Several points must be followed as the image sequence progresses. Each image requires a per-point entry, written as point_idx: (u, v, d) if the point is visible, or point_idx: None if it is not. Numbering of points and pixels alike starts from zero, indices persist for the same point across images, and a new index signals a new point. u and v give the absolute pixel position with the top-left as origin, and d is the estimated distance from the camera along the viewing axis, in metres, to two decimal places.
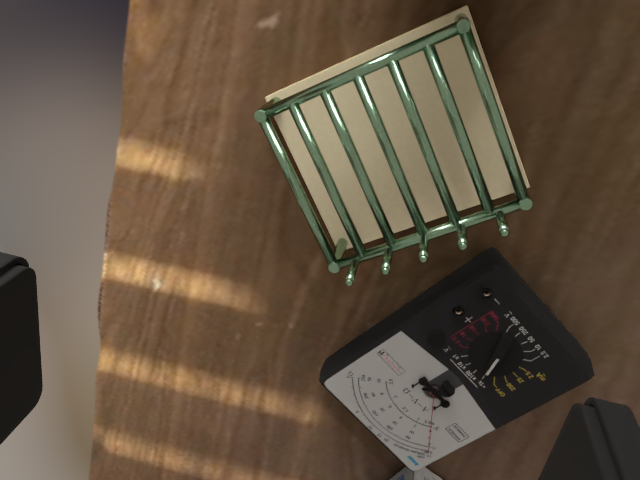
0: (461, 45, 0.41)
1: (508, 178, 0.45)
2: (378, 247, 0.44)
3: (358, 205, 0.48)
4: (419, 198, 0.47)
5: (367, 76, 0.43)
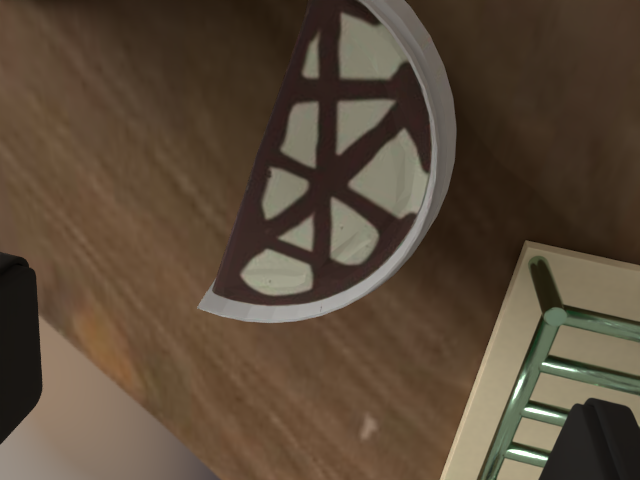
0: (569, 281, 0.27)
1: None
2: None
3: None
4: None
5: (509, 393, 0.30)
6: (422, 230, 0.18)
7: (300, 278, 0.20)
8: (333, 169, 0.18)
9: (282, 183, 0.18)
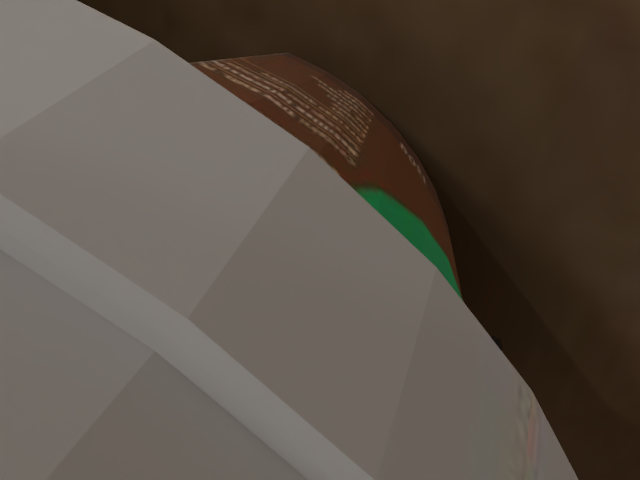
0: None
1: None
2: None
3: None
4: None
5: None
6: None
7: None
8: None
9: None
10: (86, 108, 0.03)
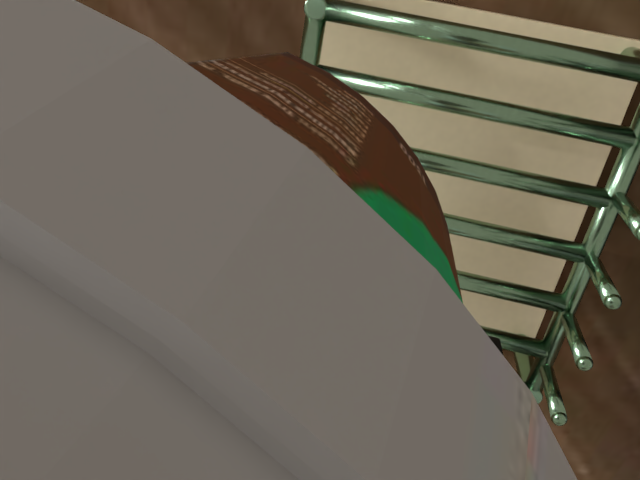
0: None
1: None
2: (552, 325, 0.26)
3: None
4: (538, 208, 0.28)
5: None
6: None
7: None
8: None
9: None
10: (81, 108, 0.02)
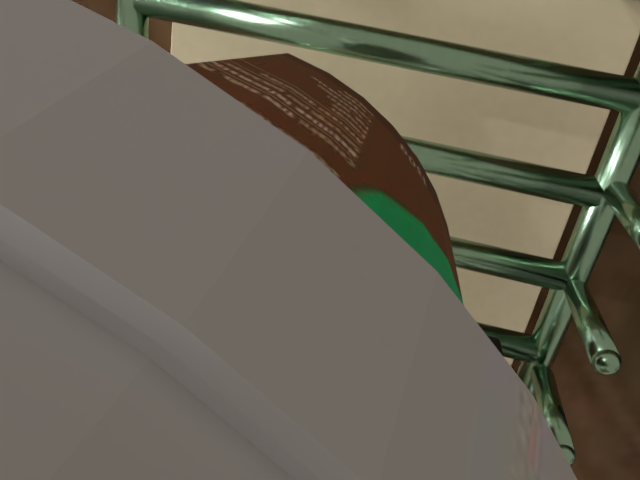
0: None
1: None
2: None
3: None
4: (503, 208, 0.20)
5: None
6: None
7: None
8: None
9: None
10: (82, 110, 0.02)
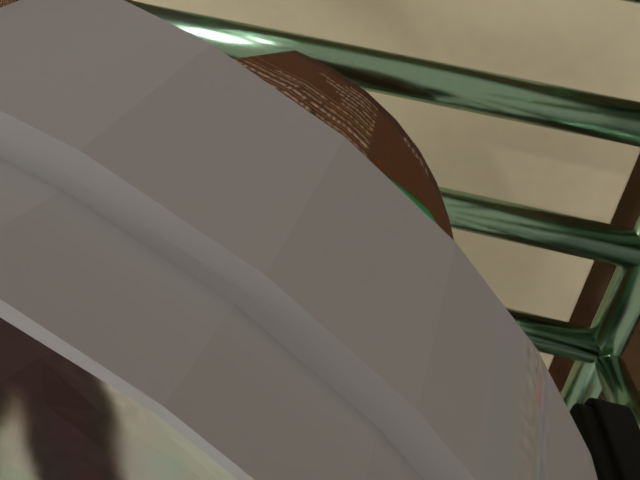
0: None
1: None
2: None
3: None
4: (517, 252, 0.17)
5: None
6: None
7: None
8: None
9: None
10: (166, 103, 0.03)
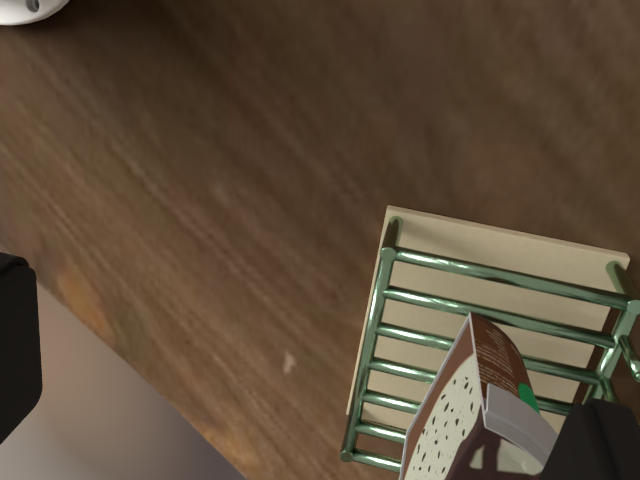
0: (420, 235, 0.36)
1: (600, 273, 0.34)
2: None
3: None
4: None
5: None
6: None
7: None
8: None
9: None
10: (510, 408, 0.23)
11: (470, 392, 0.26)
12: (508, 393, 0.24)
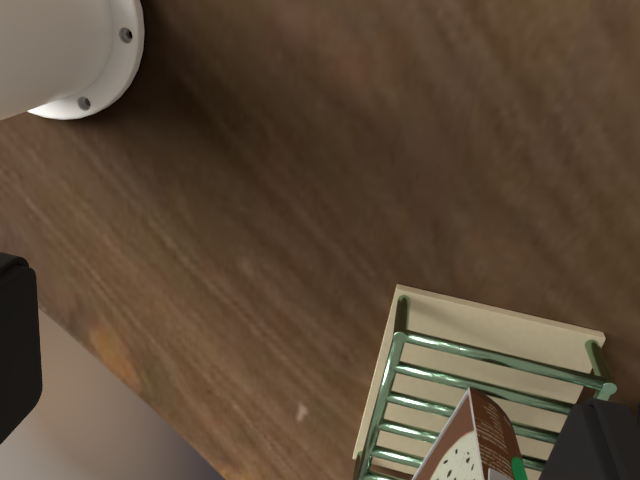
0: (425, 312, 0.41)
1: (580, 349, 0.40)
2: None
3: None
4: (534, 421, 0.43)
5: (394, 387, 0.44)
6: None
7: None
8: None
9: None
10: None
11: (471, 468, 0.31)
12: (505, 476, 0.29)
